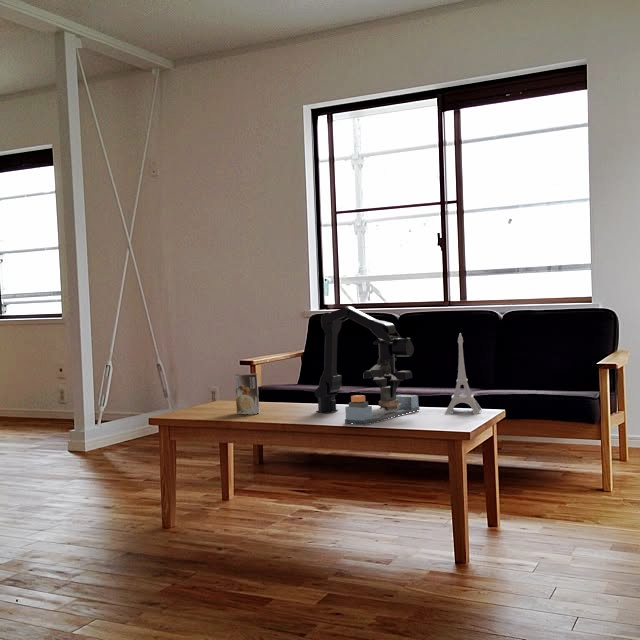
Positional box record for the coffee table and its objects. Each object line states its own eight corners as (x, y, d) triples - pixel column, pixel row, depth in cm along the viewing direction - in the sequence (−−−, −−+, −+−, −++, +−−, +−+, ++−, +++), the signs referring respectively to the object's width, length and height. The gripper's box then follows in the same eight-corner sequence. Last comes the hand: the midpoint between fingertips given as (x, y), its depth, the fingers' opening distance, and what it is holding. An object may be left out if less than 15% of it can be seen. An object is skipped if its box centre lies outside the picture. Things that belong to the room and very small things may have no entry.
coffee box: (259, 412, 322) (258, 372, 322) (259, 414, 316) (257, 374, 315) (237, 413, 322) (235, 373, 322) (236, 415, 315) (234, 375, 315)
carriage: (379, 410, 296) (378, 387, 296) (387, 408, 301) (386, 385, 301) (390, 410, 293) (389, 388, 293) (398, 408, 298) (397, 386, 298)
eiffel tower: (446, 409, 307) (443, 333, 307) (481, 409, 304) (478, 331, 304) (444, 414, 294) (440, 334, 294) (480, 414, 291) (477, 333, 291)
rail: (344, 423, 282) (344, 402, 282) (399, 409, 311) (399, 390, 311) (365, 424, 277) (364, 403, 277) (419, 410, 306) (418, 391, 306)
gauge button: (351, 401, 281) (351, 396, 281) (357, 400, 284) (356, 395, 284) (359, 402, 279) (359, 396, 279) (365, 401, 282) (365, 395, 282)
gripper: (354, 357, 296) (355, 399, 296) (396, 358, 284) (398, 401, 285) (370, 355, 305) (372, 395, 305) (412, 355, 293) (414, 397, 294)
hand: (388, 397), depth 297 cm, fingers closed on carriage, 3 cm apart
